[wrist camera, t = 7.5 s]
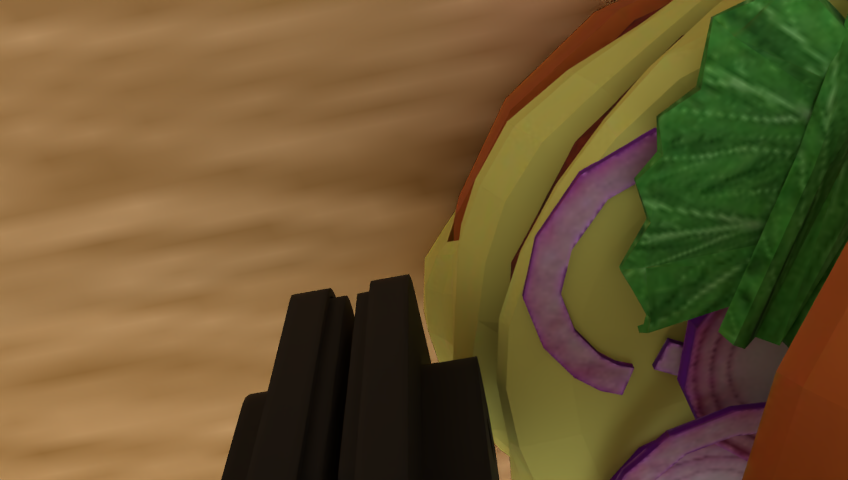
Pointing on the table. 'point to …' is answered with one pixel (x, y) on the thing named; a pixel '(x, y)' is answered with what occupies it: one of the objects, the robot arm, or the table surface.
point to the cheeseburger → (662, 249)
